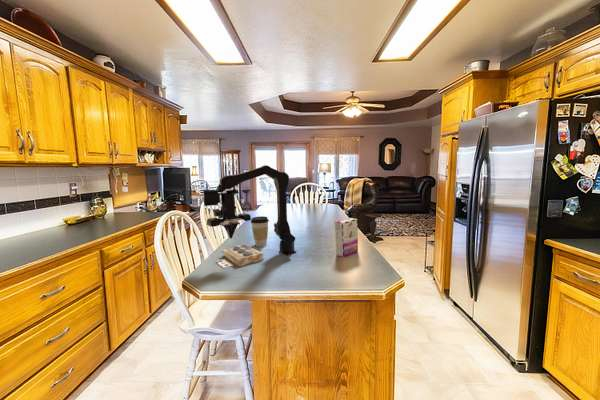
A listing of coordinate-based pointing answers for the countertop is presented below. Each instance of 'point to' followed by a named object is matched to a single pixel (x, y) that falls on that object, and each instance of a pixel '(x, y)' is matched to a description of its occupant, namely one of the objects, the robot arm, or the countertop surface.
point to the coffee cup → (260, 230)
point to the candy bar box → (346, 237)
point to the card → (224, 263)
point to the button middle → (242, 250)
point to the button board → (241, 258)
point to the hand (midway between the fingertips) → (230, 238)
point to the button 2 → (247, 253)
